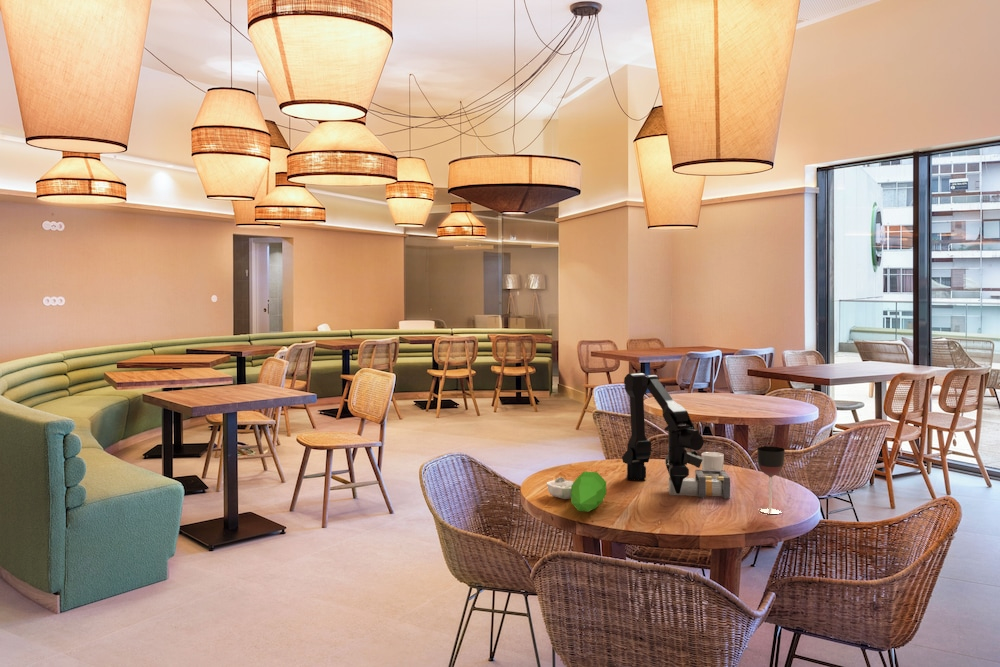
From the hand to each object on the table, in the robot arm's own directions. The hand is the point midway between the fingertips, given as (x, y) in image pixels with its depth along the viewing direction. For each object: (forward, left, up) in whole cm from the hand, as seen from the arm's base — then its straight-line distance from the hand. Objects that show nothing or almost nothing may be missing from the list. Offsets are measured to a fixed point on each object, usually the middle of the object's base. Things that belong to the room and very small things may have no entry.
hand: (676, 489), depth 255 cm
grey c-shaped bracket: (+12, 0, -1) cm, 12 cm away
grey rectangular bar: (+8, 0, -1) cm, 8 cm away
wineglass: (+27, -19, -1) cm, 33 cm away
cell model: (-39, -10, -2) cm, 40 cm away
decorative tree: (-31, -23, -2) cm, 39 cm away
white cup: (+15, +19, -2) cm, 24 cm away
